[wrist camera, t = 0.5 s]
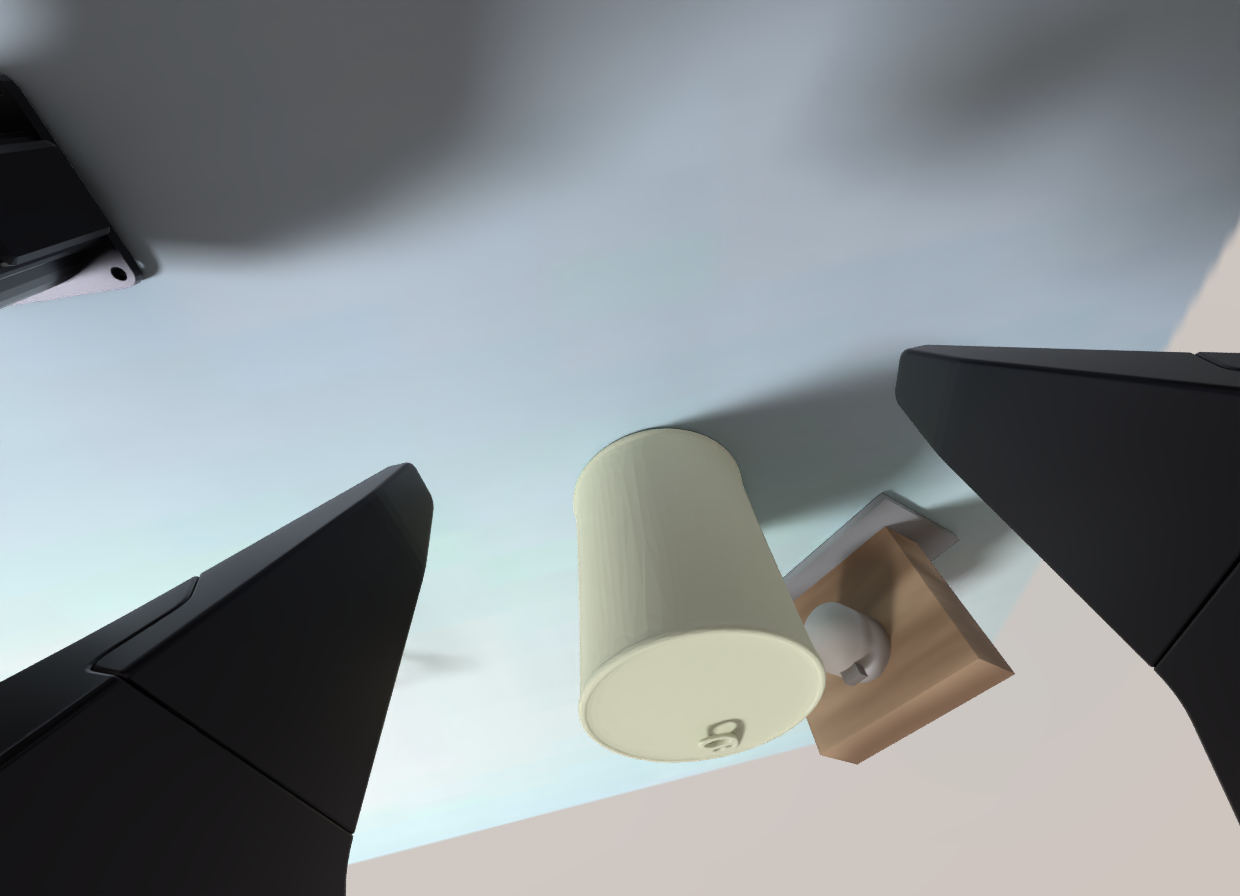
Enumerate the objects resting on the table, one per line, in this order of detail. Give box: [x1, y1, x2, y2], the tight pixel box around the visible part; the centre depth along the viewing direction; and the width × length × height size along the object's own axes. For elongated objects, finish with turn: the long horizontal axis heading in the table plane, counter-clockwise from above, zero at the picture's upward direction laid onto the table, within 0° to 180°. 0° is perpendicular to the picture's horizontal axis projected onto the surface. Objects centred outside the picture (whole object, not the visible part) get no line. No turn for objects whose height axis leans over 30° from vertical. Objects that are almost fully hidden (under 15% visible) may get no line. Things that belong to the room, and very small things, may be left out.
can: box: [573, 428, 826, 762], centre depth 23 cm, size 9×9×12 cm
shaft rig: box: [783, 493, 1015, 764], centre depth 30 cm, size 8×13×9 cm, turn 147°
